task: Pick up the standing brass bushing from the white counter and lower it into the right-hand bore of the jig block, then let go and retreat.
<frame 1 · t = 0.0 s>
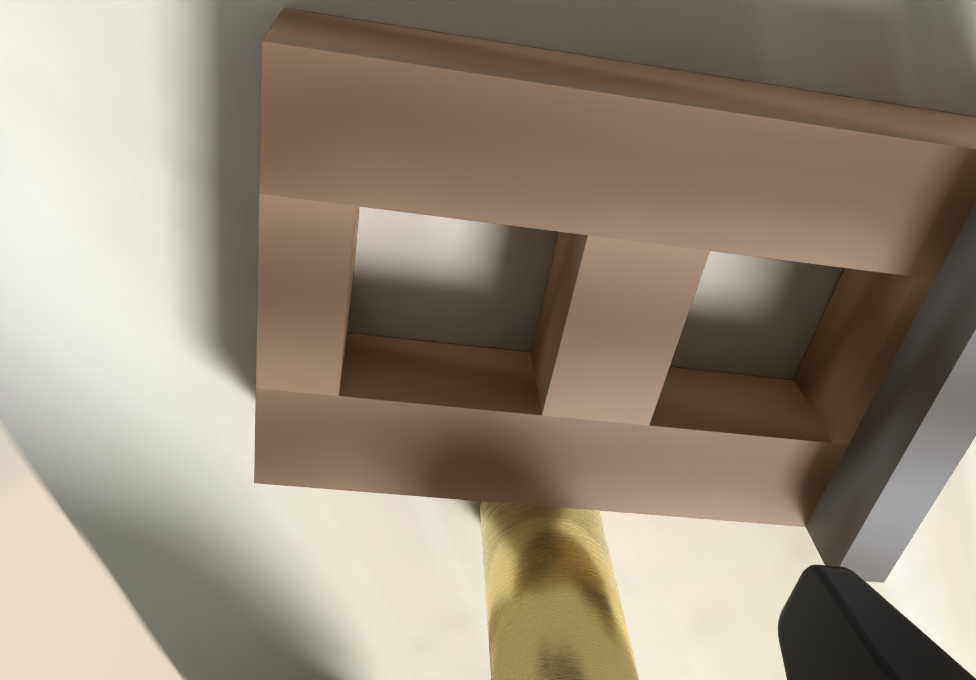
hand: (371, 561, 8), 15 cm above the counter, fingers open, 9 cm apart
bushing: (538, 507, 28), on the counter
jig: (600, 279, 24), on the counter
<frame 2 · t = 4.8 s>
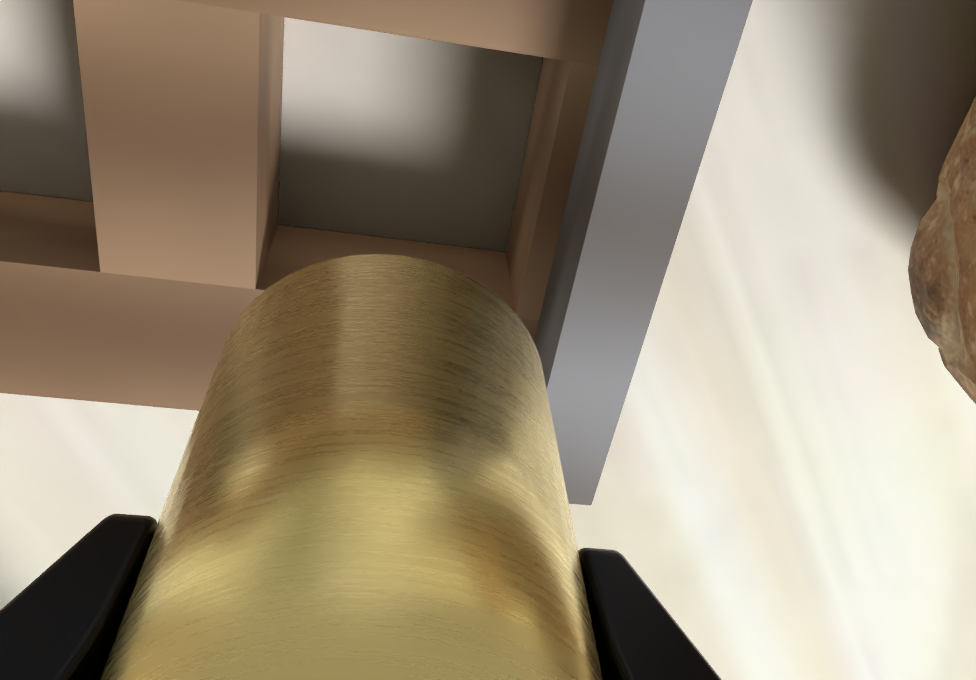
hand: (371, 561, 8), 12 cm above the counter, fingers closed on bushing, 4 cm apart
bushing: (383, 397, 10), point 10 cm above the counter, touching gripper
jig: (209, 101, 18), on the counter
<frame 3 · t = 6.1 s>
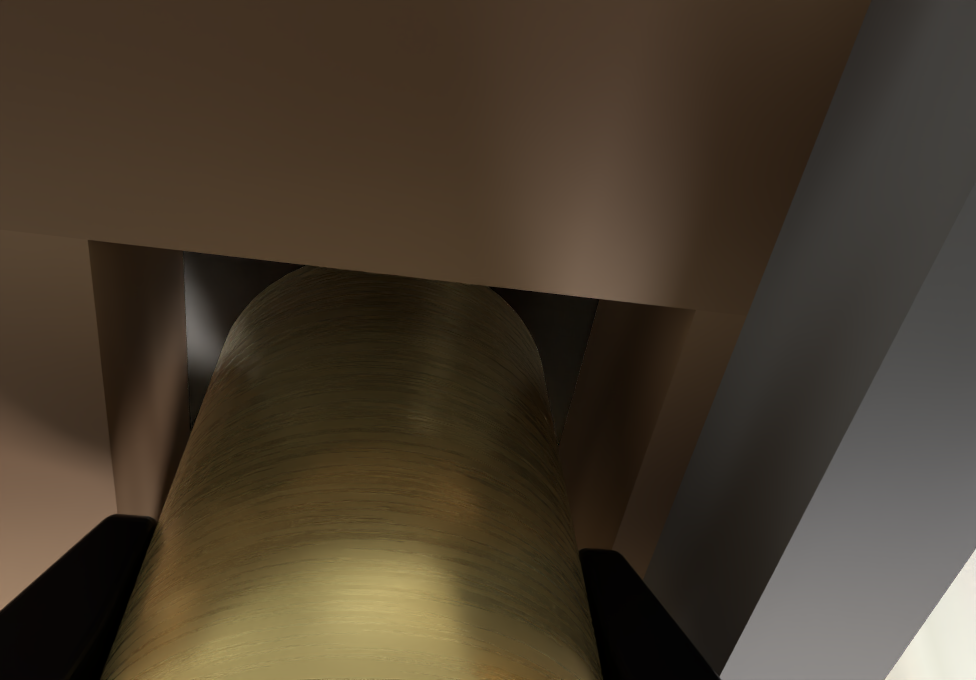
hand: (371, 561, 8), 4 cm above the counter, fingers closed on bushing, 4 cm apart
bushing: (383, 396, 10), point 1 cm above the counter, touching gripper
jig: (65, 306, 11), on the counter
when the fingers open (4 cm above the counter, at t = 6.9 s): bushing drops 1 cm, resting in jig.
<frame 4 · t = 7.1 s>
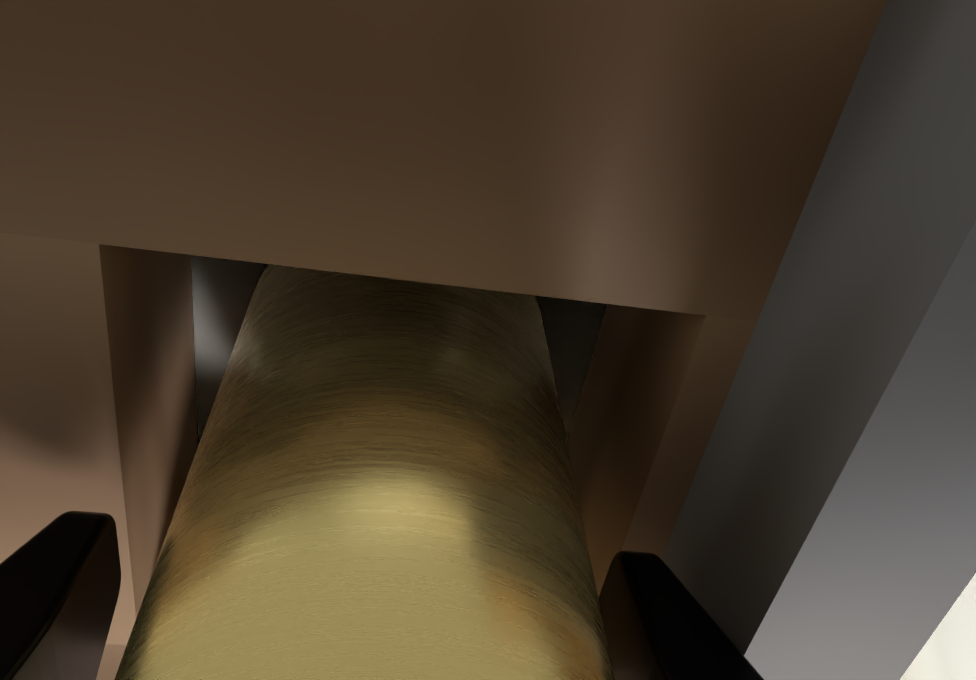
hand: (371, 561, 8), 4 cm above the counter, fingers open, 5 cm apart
bushing: (397, 342, 11), resting in jig
jig: (73, 309, 11), on the counter
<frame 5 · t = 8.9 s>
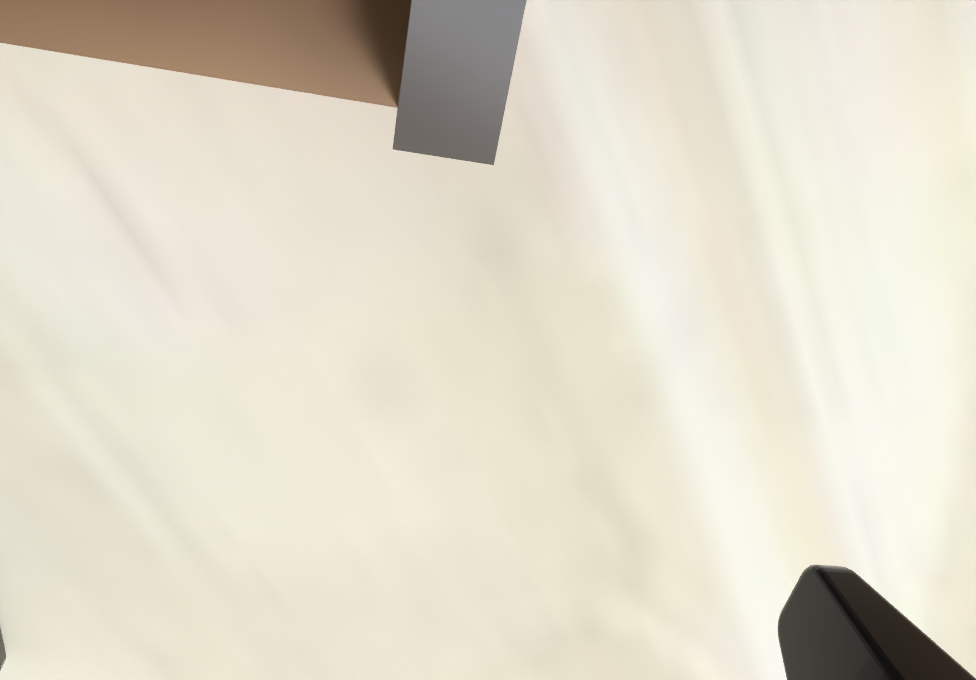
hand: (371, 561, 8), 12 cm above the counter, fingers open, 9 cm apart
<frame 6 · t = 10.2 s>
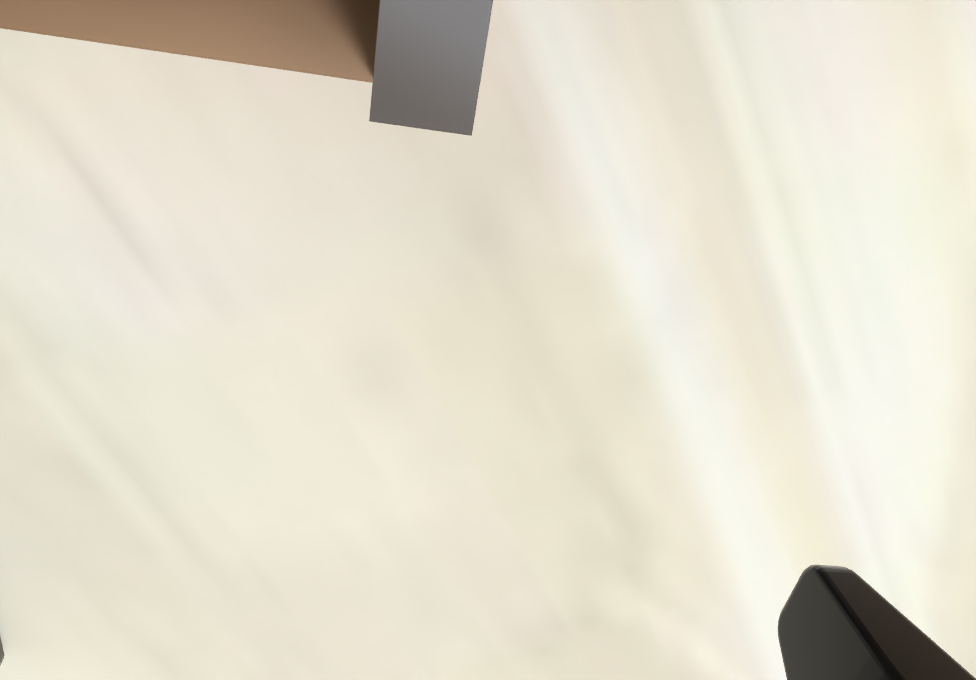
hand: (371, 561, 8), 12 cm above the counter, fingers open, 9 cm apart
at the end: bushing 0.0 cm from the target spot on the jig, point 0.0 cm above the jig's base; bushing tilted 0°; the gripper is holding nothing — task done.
